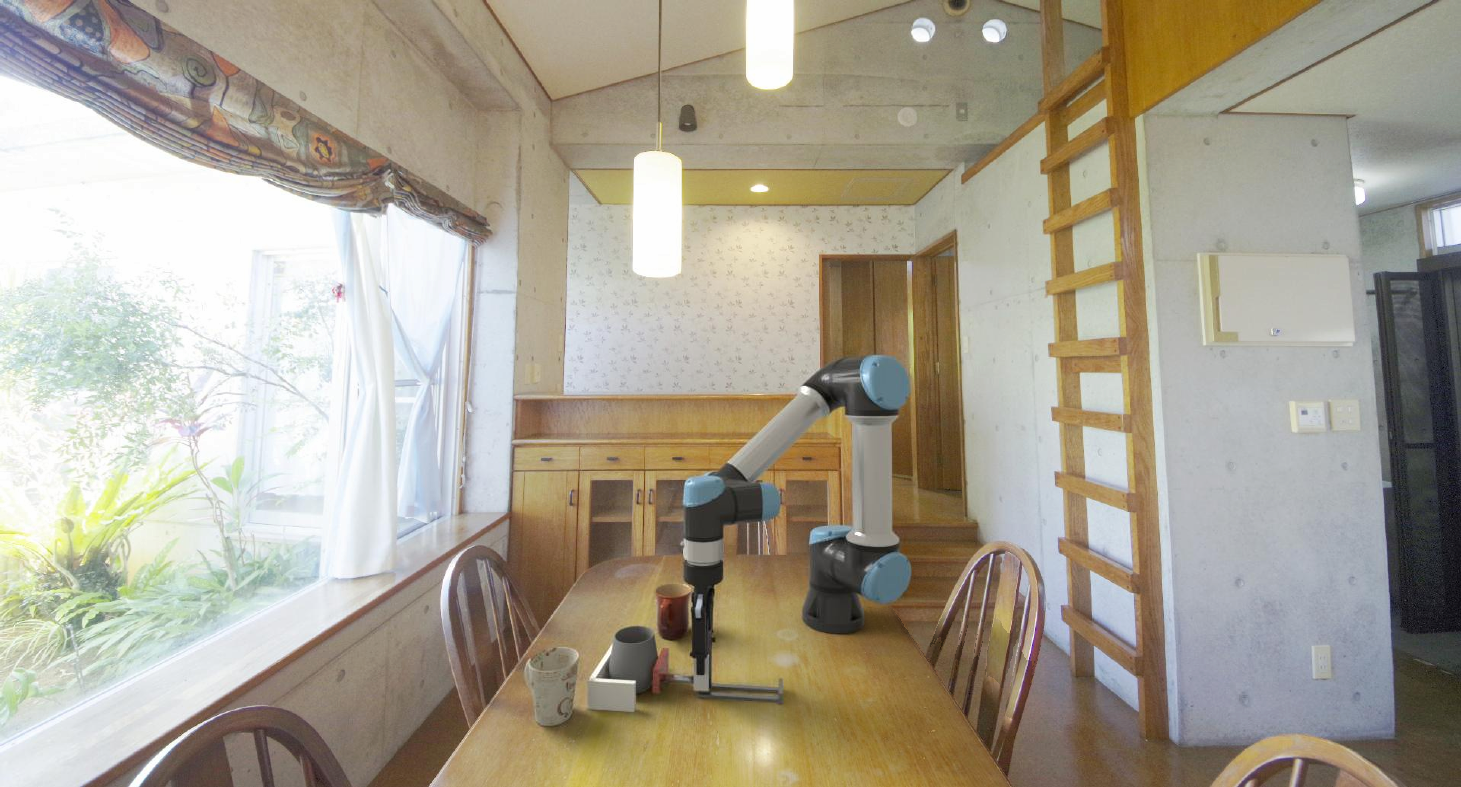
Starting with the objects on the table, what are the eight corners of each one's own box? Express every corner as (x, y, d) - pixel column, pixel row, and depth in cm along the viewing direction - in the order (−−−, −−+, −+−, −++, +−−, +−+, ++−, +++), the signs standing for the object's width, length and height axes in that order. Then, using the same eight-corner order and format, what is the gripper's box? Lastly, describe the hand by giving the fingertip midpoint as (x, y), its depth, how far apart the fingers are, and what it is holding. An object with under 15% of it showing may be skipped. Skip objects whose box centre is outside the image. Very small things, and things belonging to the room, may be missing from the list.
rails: (782, 689, 100) (782, 678, 100) (782, 704, 95) (782, 693, 95) (701, 684, 102) (701, 673, 102) (697, 699, 97) (697, 688, 97)
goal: (654, 667, 108) (654, 643, 108) (634, 712, 93) (634, 683, 93) (614, 665, 109) (614, 640, 109) (587, 709, 94) (587, 681, 94)
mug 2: (661, 623, 128) (661, 581, 128) (696, 627, 126) (696, 584, 126) (643, 647, 116) (643, 601, 116) (681, 651, 114) (681, 604, 114)
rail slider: (714, 674, 103) (714, 623, 103) (708, 698, 95) (708, 643, 95) (662, 671, 104) (662, 621, 104) (652, 694, 96) (652, 640, 96)
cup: (606, 677, 104) (606, 627, 104) (653, 669, 107) (653, 620, 107) (612, 705, 95) (612, 649, 95) (663, 695, 98) (663, 642, 98)
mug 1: (550, 737, 86) (550, 676, 86) (502, 712, 93) (502, 655, 93) (588, 711, 93) (589, 654, 93) (542, 689, 100) (542, 636, 100)
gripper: (691, 546, 108) (690, 660, 108) (675, 573, 91) (674, 708, 92) (727, 547, 107) (727, 662, 107) (718, 575, 91) (717, 711, 91)
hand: (702, 683), depth 99 cm, fingers closed on rail slider, 3 cm apart
